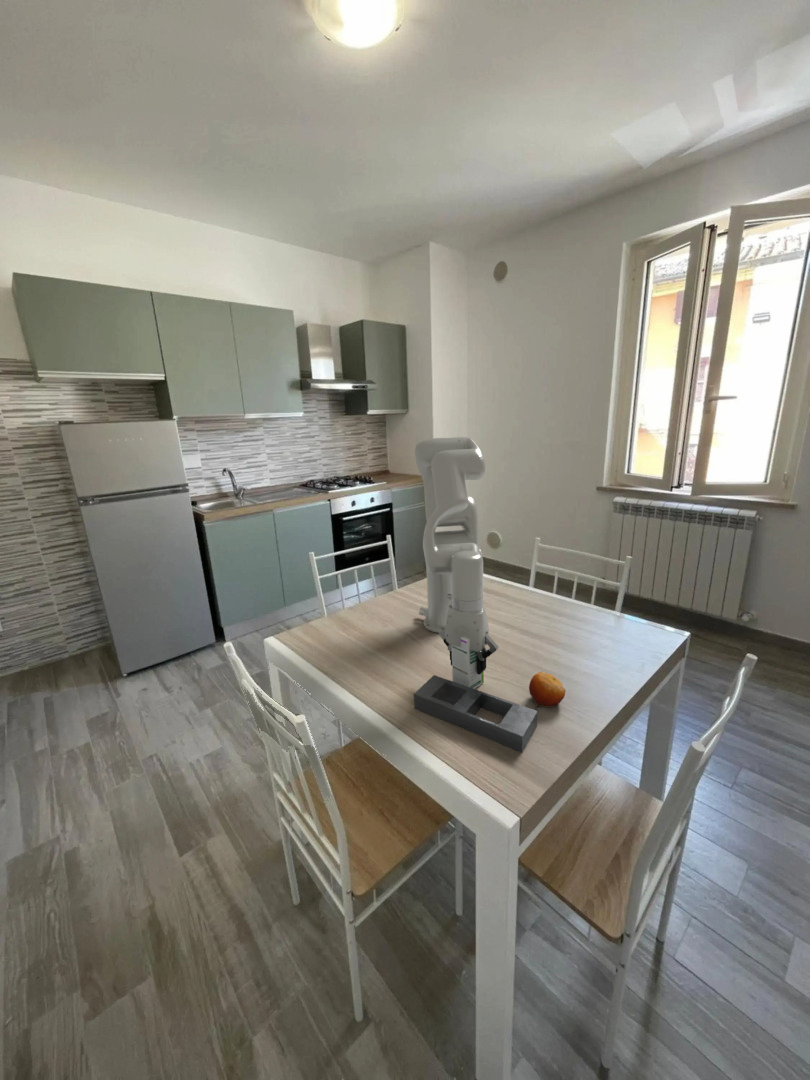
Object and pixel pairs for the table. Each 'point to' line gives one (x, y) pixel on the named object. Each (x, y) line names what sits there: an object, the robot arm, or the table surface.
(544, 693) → the fruit
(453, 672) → the syrup box
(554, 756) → the table surface
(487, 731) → the grey slotted holder
